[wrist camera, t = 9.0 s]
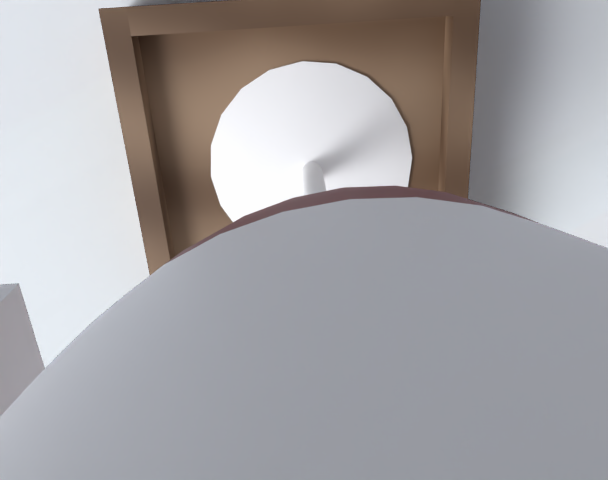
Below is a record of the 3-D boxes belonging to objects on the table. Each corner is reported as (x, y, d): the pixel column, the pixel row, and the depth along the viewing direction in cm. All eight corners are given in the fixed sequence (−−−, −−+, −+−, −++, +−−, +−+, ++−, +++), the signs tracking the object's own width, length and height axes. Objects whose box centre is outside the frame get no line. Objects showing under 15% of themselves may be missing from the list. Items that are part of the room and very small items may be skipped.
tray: (124, 9, 23) (98, 8, 19) (453, -12, 23) (481, -16, 19) (175, 299, 28) (161, 335, 25) (439, 280, 28) (460, 314, 25)
